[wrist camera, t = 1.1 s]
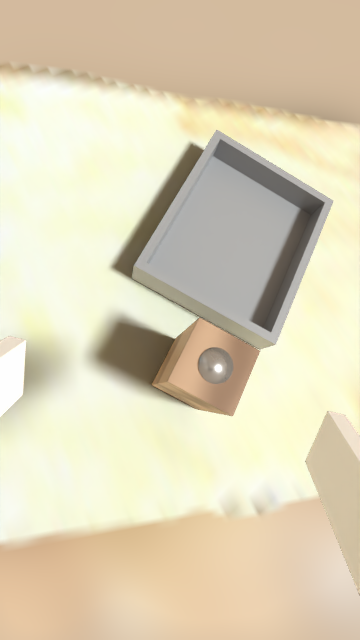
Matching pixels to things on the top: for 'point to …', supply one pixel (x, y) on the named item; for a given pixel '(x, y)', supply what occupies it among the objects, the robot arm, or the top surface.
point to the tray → (235, 242)
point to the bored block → (207, 368)
